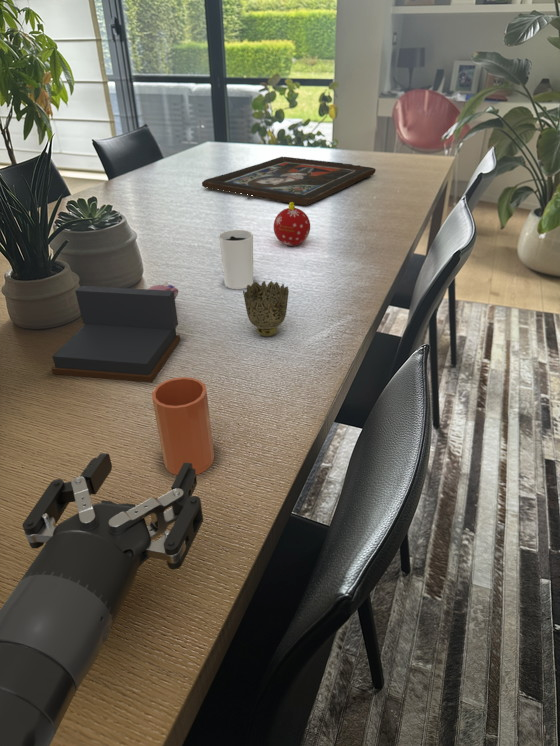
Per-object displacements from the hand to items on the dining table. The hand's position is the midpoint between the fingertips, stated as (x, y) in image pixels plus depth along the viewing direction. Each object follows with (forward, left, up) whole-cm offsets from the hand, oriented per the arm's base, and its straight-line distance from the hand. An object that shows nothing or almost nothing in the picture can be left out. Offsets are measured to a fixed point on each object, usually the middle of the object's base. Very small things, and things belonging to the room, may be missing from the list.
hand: (147, 464), depth 54 cm
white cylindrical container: (-7, +63, -9) cm, 64 cm away
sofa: (-19, +32, -8) cm, 39 cm away
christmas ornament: (0, +87, -9) cm, 88 cm away
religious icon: (-10, +145, -9) cm, 146 cm away
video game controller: (-19, +47, -9) cm, 52 cm away
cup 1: (0, +10, -8) cm, 14 cm away
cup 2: (+3, +43, -9) cm, 44 cm away
